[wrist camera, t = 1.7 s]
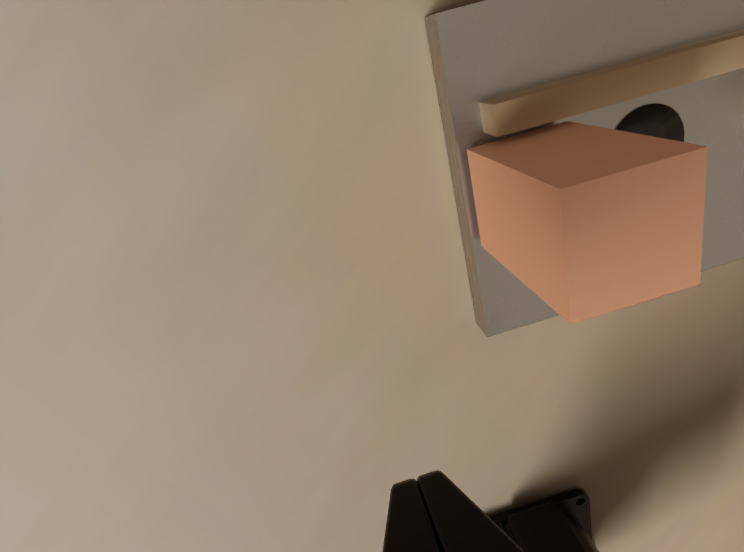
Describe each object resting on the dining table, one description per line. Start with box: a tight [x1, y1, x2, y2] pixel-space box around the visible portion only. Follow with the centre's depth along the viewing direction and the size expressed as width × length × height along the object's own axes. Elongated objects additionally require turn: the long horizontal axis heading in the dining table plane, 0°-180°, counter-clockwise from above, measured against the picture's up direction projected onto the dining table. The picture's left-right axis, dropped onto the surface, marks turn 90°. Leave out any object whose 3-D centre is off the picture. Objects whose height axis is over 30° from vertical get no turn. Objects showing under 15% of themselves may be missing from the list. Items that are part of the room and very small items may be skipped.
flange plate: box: [425, 0, 744, 337], centre depth 19 cm, size 12×20×1 cm, turn 104°
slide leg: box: [467, 121, 708, 324], centre depth 14 cm, size 4×4×6 cm
